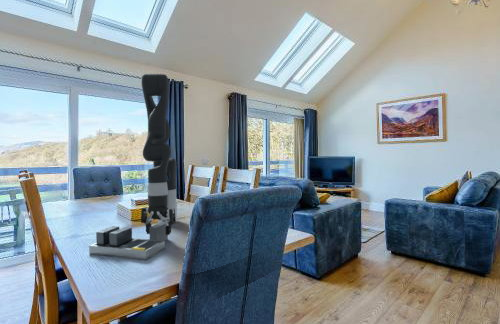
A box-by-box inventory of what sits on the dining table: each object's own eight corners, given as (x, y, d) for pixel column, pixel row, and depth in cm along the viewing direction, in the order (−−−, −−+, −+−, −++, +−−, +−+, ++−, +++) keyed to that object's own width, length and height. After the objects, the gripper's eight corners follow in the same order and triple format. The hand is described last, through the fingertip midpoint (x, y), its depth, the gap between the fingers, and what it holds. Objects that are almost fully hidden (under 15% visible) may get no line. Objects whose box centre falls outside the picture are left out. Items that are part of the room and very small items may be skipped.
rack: (89, 254, 97) (88, 232, 97) (112, 244, 108) (111, 224, 107) (146, 260, 91) (145, 237, 91) (164, 248, 102) (164, 228, 102)
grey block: (161, 238, 114) (161, 222, 114) (167, 239, 113) (167, 222, 113) (149, 245, 106) (149, 227, 106) (156, 245, 105) (156, 227, 105)
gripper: (178, 192, 111) (179, 232, 111) (148, 192, 114) (148, 230, 115) (168, 195, 103) (169, 238, 104) (136, 194, 107) (136, 235, 107)
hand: (158, 234), depth 109 cm, fingers open, 8 cm apart
